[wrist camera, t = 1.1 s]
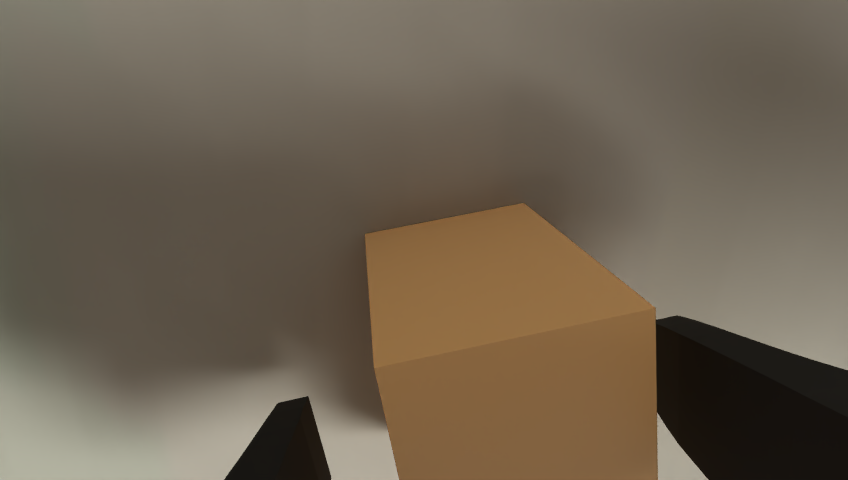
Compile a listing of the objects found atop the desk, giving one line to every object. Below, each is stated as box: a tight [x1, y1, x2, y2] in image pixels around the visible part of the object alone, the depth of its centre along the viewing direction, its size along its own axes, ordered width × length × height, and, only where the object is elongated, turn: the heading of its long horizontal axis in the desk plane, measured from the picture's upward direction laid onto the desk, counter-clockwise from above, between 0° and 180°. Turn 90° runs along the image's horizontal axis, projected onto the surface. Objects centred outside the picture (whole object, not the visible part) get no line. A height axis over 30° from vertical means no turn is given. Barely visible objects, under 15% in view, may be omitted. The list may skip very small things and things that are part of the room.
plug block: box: [365, 203, 658, 480], centre depth 11 cm, size 4×6×6 cm, turn 9°
